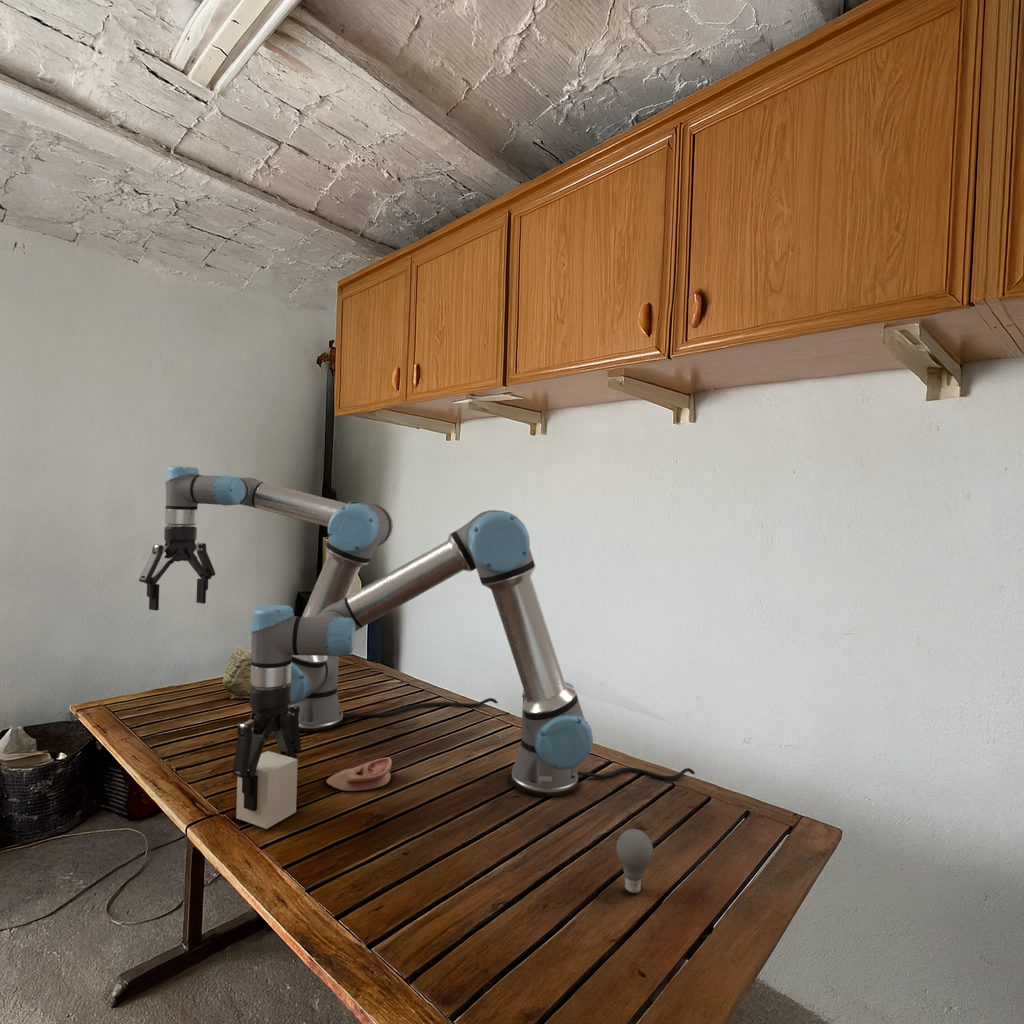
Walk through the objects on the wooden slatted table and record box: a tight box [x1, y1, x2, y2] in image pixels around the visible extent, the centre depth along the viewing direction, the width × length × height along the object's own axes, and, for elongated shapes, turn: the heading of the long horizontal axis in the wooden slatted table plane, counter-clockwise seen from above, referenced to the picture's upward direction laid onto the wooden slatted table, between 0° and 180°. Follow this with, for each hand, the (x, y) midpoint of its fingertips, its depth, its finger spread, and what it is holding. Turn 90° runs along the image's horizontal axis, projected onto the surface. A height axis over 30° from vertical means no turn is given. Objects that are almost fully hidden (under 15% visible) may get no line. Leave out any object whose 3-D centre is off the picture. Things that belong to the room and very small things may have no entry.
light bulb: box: [615, 828, 654, 894], centre depth 106 cm, size 6×6×10 cm
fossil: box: [222, 646, 252, 699], centre depth 198 cm, size 9×18×15 cm, turn 132°
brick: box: [235, 750, 299, 830], centre depth 125 cm, size 8×8×11 cm
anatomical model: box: [326, 756, 393, 792], centre depth 142 cm, size 13×4×12 cm
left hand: (178, 606), depth 166 cm, fingers open, 13 cm apart
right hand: (267, 799), depth 125 cm, fingers closed on brick, 8 cm apart
